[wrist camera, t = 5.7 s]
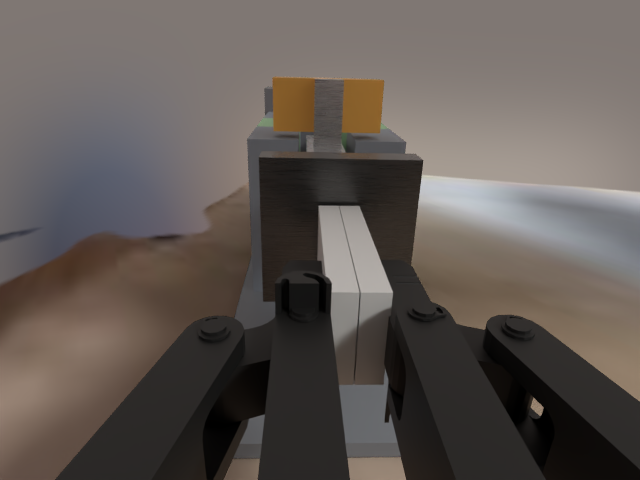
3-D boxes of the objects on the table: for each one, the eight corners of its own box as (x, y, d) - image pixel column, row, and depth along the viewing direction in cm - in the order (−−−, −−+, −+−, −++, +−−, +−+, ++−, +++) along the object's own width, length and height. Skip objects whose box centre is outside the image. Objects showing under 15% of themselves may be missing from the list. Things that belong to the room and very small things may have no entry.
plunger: (406, 302, 18) (431, 90, 15) (263, 301, 18) (256, 86, 14) (358, 190, 34) (365, 76, 30) (282, 188, 33) (281, 74, 30)
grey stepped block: (463, 456, 18) (528, 146, 13) (200, 458, 17) (164, 139, 12) (364, 212, 47) (373, 89, 42) (266, 210, 47) (262, 86, 42)
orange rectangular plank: (379, 133, 26) (384, 80, 24) (273, 131, 25) (272, 77, 24) (375, 129, 27) (379, 79, 26) (275, 127, 27) (274, 76, 26)
